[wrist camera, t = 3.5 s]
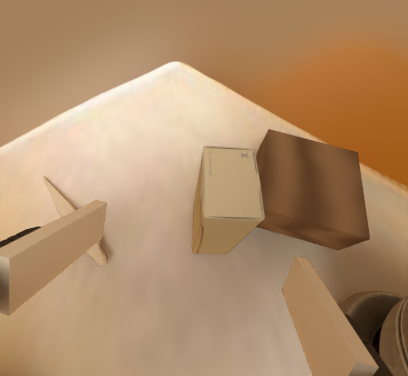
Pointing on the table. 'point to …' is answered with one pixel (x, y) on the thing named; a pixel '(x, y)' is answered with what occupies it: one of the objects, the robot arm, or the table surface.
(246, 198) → the skincare box
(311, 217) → the walnut plinth
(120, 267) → the table surface
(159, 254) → the table surface
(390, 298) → the webcam
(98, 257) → the beige slender tapered piece
